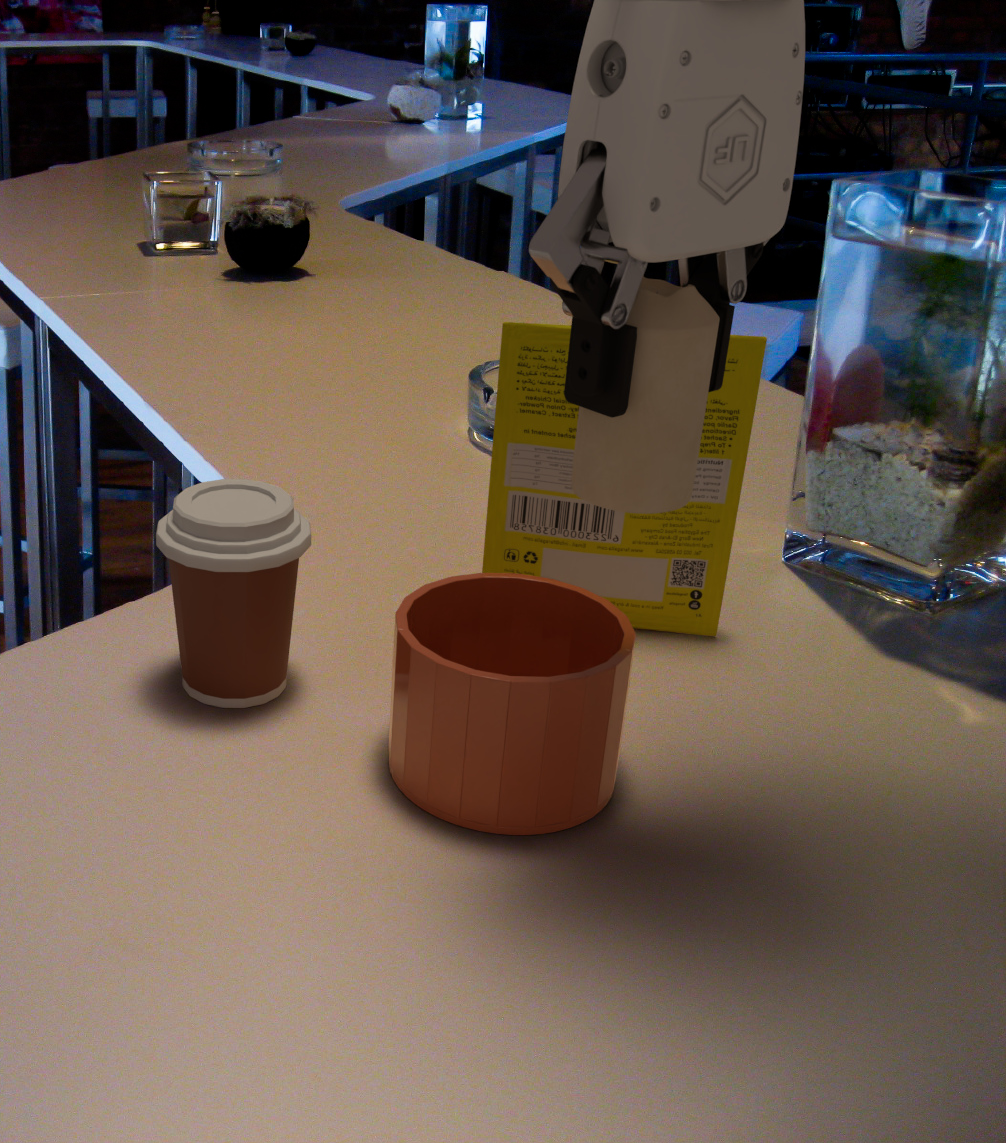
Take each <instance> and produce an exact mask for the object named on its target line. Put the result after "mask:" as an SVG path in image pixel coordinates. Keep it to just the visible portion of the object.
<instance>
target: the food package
mask: <svg viewBox="0 0 1006 1143" xmlns="http://www.w3.org/2000/svg"><path fill="white" fill-rule="evenodd" d="M570 333H571V324H570V325H569V324H553V323H537V322H535V323H533V322H516V321H513V322H512V321H503V322H502V328H501V340H500V352H499V364H498V375H497V386H496V397H495V398H496V399H495V411H494V424H493V436H492V446H491V447H492V448H491V461H490V470H489V471H490V472H489V483H488V485H489V486H488V496H487V497H488V498H487V508H486V509H487V510H486V520H485V530H484V531H485V532H484V533H485V534H484V544H483V556H482V557H483V558H482V568H481V573H516V574H524V575H531V576H537V577H544V578H550V579H554V580H558V581H561V582H564V583H568V584H571V585H575V586H578V587H581V588H584V589H586V590H588V591H590V592H592V593H594V594H596V595H598V596H600V597H602V598H604V599H606V600H608V601H609V602H611V603H612V604H613V605H615V606H616V607H617V608H618V609H619V610H620V611H622V612H623V613H624V614H625V615H626V616H627V617H628V618H629V620H630V623H631V625H632V627H633V629H637V630H649V631H658V632H669V633H676V634H677V633H679V634H688V635H693V636H694V635H697V636H707V637H717V635H718V630H719V622H720V618H721V612H722V606H723V600H724V595H725V594H724V593H725V587H726V583H727V582H726V581H727V575H728V571H729V566H730V559H731V552H732V546H733V542H734V535H735V529H736V525H737V524H736V523H737V518H738V512H739V507H740V506H739V505H740V500H741V494H742V489H743V483H744V476H745V471H746V465H747V459H748V453H749V447H750V441H751V435H752V431H753V430H752V429H753V424H754V418H755V412H756V406H757V401H758V396H759V395H758V394H759V388H760V383H761V378H762V371H763V365H764V359H765V354H766V349H767V342H768V337H767V336H762V335H761V336H760V335H758V336H757V335H745V334H730V340H729V347H728V353H727V359H726V365H725V372H724V378H723V384H722V387H721V388H720V389H719V390H716V391H712V392H708V397H707V404H706V410H705V416H704V423H703V429H702V436H701V442H700V449H699V455H698V461H697V468H696V474H695V480H694V486H693V491H692V495H691V498H690V500H689V502H688V503H687V504H686V505H685V506H683V507H681V508H679V509H676V510H673V511H669V512H663V513H650V514H642V513H628V512H620V511H614V510H610V509H606V508H602V507H599V506H596V505H593V504H591V503H588V502H586V501H584V500H583V499H581V498H580V497H578V496H577V495H576V494H575V493H574V491H573V489H572V468H573V459H574V450H575V441H576V432H577V423H578V414H579V406H577V405H575V404H572V403H569V402H568V401H567V400H566V399H565V396H564V389H565V380H566V370H567V361H568V352H569V343H570Z"/></svg>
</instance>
